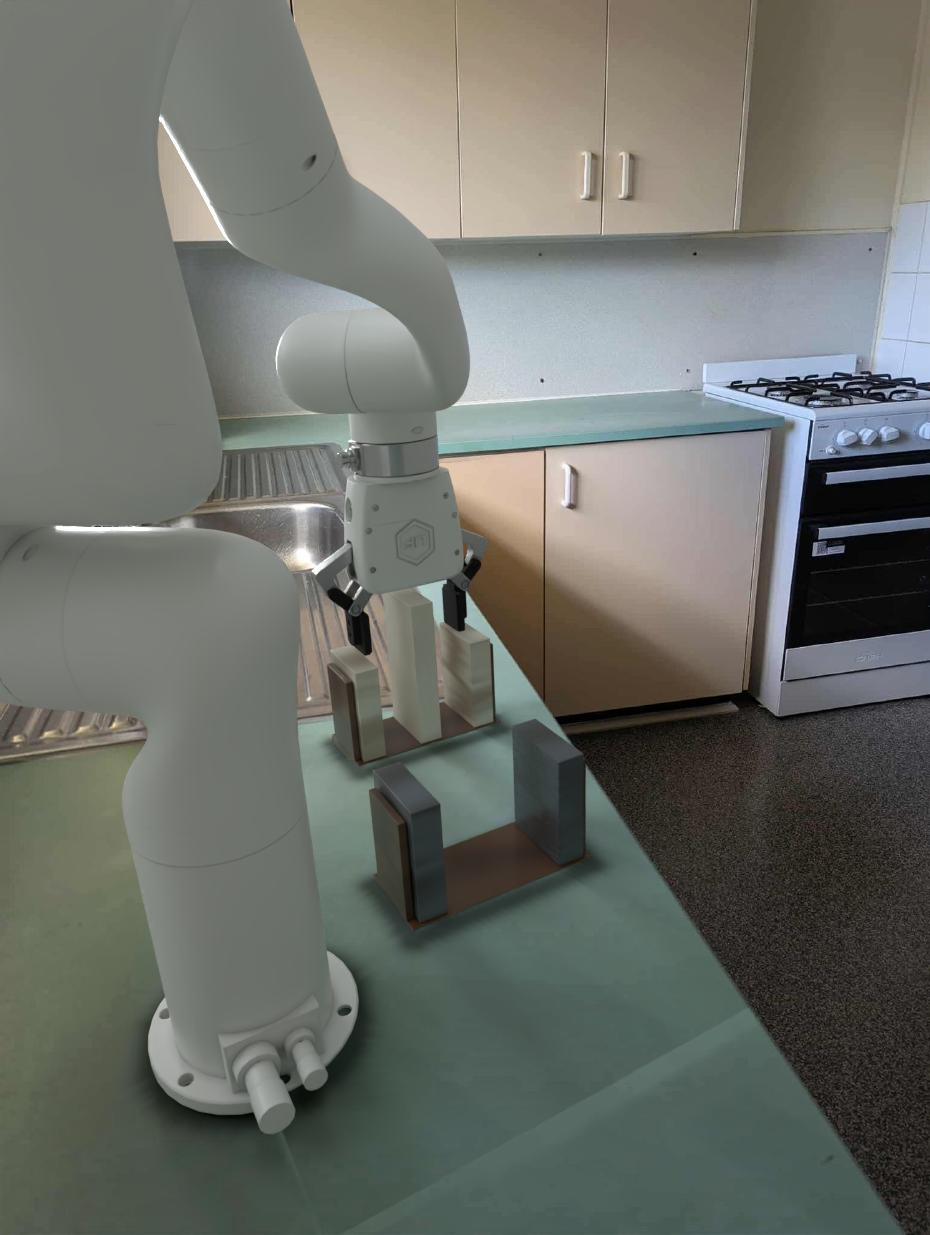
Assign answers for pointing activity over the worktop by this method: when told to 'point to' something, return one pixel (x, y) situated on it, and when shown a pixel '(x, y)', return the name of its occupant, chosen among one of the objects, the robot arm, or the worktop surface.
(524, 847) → the grey rack
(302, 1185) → the worktop surface
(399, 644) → the white book
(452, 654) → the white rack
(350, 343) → the robot arm
